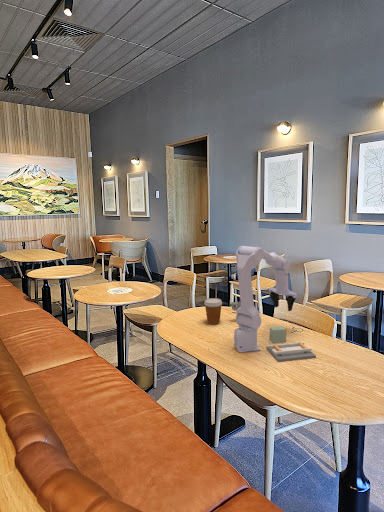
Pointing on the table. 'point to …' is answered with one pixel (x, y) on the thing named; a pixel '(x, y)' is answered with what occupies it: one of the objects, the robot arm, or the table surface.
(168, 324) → the table surface
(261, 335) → the table surface
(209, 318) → the disposable coffee cup
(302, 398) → the table surface
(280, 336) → the block
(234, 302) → the mechanical component
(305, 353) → the rail board
